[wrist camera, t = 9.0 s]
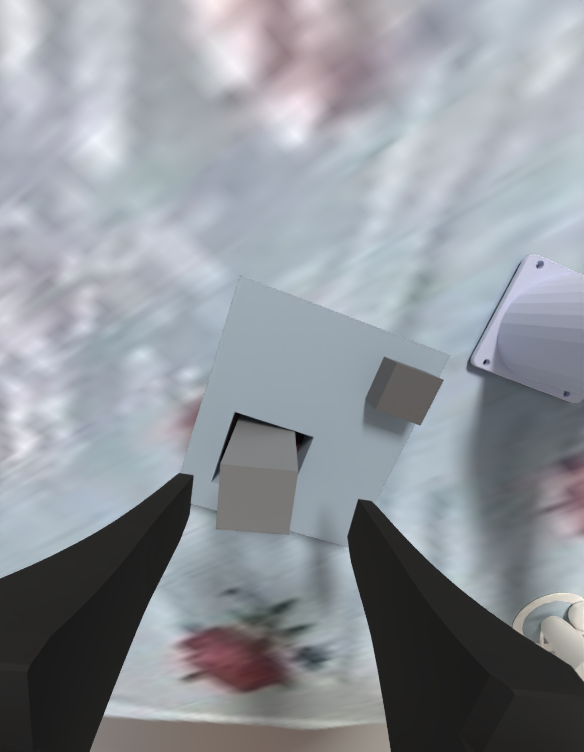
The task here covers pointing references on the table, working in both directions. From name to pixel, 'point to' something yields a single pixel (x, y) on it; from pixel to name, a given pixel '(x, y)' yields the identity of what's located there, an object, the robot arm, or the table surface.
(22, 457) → the table surface
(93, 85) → the table surface
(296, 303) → the socket plate
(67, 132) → the table surface
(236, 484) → the grey rectangular block
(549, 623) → the white ring and cylinders
